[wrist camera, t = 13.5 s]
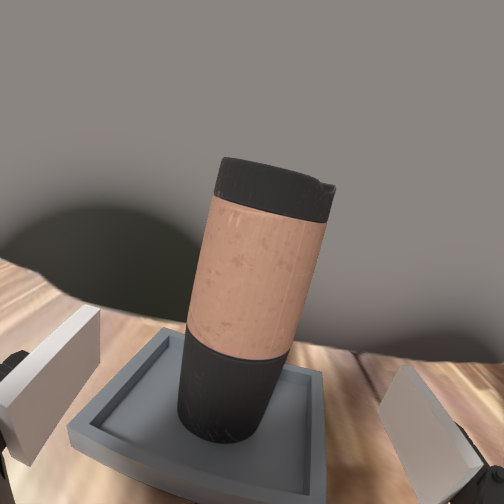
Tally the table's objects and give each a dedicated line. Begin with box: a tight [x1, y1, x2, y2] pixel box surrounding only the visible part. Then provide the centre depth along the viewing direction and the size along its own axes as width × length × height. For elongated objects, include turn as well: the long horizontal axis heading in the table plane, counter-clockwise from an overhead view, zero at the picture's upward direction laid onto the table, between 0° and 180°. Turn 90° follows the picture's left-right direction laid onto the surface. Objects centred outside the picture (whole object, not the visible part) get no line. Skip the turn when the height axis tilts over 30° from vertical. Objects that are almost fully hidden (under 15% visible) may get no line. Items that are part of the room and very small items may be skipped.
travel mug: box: [177, 157, 336, 444], centre depth 22 cm, size 8×8×20 cm
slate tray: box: [67, 327, 326, 504], centre depth 24 cm, size 18×18×2 cm
